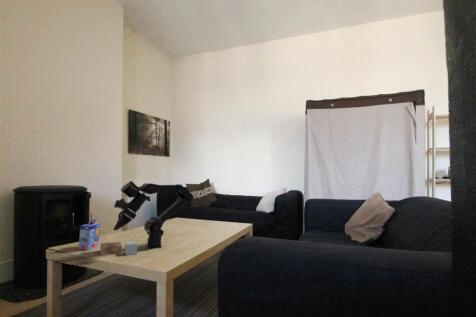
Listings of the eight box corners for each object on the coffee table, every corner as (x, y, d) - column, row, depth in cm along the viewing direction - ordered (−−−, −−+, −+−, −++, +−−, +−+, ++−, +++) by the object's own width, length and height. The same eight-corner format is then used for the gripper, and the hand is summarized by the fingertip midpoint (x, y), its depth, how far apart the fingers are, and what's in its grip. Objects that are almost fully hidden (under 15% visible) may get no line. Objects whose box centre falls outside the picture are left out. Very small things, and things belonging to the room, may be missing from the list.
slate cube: (135, 251, 129) (136, 241, 130) (137, 254, 125) (137, 243, 125) (124, 252, 127) (125, 242, 127) (125, 255, 122) (126, 244, 123)
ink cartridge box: (88, 250, 130) (90, 221, 131) (77, 250, 130) (79, 221, 132) (99, 245, 140) (101, 218, 141) (89, 245, 140) (91, 218, 141)
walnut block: (119, 249, 134) (120, 241, 134) (121, 253, 126) (121, 245, 127) (100, 251, 130) (100, 243, 130) (100, 256, 122) (100, 247, 122)
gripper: (120, 196, 138) (99, 221, 130) (125, 191, 123) (102, 218, 115) (137, 208, 141) (118, 233, 133) (145, 204, 126) (123, 232, 117)
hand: (115, 229), depth 124 cm, fingers open, 9 cm apart
